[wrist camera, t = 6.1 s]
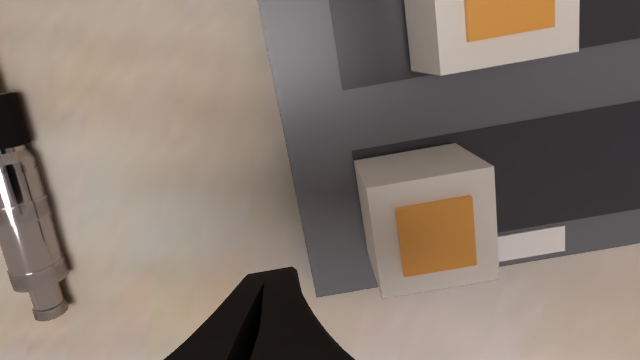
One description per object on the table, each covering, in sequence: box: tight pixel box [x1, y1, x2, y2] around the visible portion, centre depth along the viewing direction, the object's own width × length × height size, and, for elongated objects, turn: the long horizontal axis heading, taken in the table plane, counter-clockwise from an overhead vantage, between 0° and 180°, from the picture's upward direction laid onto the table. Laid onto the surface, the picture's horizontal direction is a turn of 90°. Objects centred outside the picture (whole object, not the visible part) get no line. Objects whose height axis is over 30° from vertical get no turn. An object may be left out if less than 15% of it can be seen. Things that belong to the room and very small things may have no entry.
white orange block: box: [354, 143, 500, 299], centre depth 15 cm, size 4×4×4 cm
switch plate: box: [258, 0, 640, 297], centre depth 17 cm, size 18×15×1 cm
